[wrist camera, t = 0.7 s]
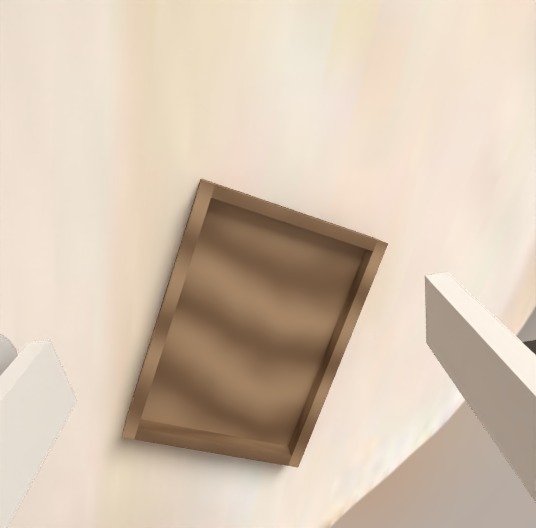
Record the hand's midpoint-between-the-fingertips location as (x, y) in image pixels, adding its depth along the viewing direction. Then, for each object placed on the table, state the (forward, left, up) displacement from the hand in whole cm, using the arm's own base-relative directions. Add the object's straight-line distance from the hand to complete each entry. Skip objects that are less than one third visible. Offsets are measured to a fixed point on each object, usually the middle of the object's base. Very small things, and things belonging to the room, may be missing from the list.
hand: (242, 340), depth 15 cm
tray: (+7, +6, -21) cm, 22 cm away
